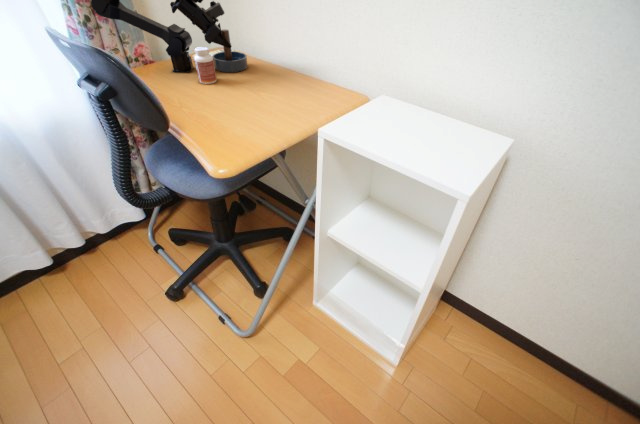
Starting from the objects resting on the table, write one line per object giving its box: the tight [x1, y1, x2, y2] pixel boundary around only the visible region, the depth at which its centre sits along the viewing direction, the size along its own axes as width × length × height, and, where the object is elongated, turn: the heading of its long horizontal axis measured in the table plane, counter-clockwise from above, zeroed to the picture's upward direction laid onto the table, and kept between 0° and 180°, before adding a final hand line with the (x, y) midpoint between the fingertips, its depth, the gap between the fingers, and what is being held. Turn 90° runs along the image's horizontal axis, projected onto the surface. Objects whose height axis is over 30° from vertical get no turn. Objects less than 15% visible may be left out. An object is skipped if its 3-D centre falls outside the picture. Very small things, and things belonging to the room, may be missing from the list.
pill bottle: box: [194, 46, 217, 85], centre depth 110 cm, size 6×6×11 cm
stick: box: [221, 29, 233, 61], centre depth 119 cm, size 3×3×12 cm
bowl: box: [211, 50, 249, 74], centre depth 124 cm, size 13×13×4 cm
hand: (230, 46), depth 119 cm, fingers closed on stick, 3 cm apart
